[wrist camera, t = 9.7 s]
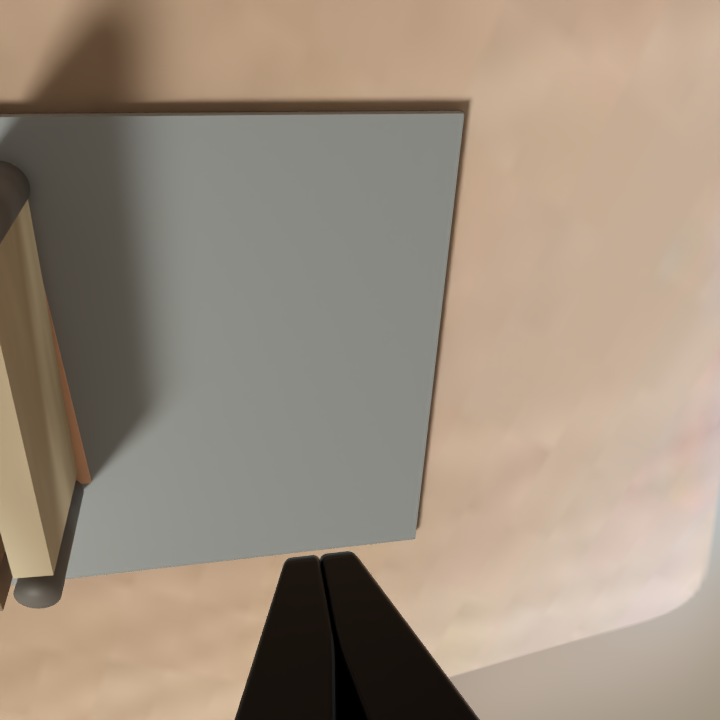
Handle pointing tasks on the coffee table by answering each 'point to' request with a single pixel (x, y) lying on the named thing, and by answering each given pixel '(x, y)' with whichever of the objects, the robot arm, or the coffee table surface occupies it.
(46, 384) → the fence gate
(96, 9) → the coffee table surface
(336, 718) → the robot arm
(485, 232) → the coffee table surface
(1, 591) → the fence base
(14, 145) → the card
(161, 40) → the coffee table surface
